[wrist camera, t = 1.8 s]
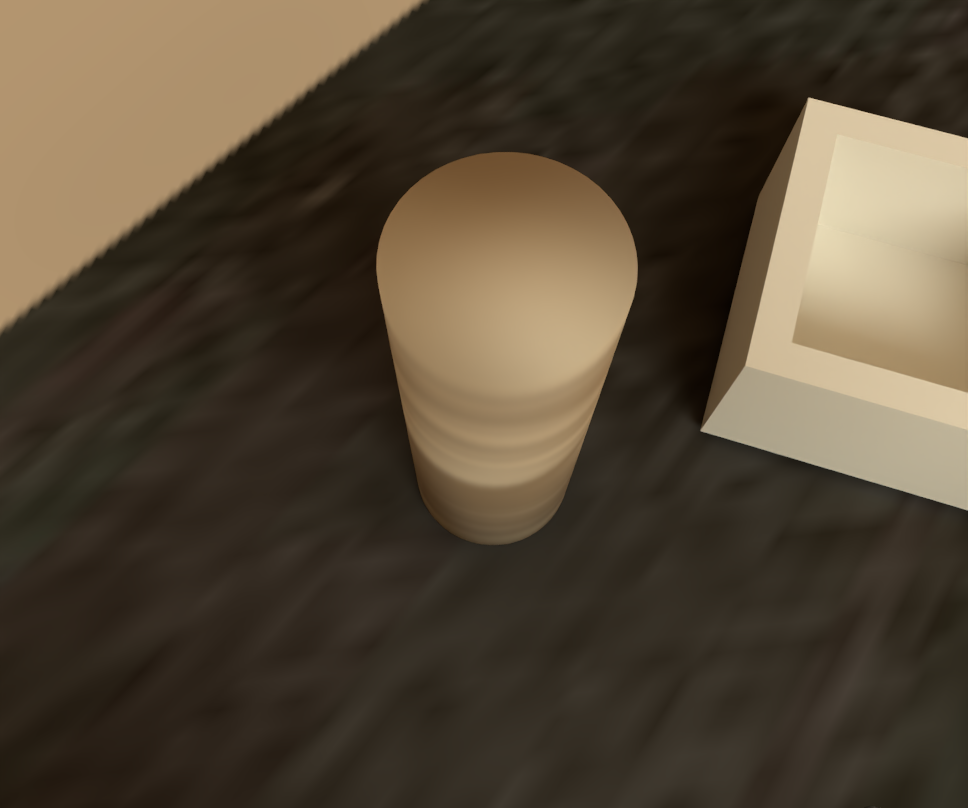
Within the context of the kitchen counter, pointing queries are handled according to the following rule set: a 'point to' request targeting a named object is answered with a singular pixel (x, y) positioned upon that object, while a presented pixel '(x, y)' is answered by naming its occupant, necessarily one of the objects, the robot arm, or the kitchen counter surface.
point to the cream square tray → (855, 307)
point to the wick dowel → (502, 332)
